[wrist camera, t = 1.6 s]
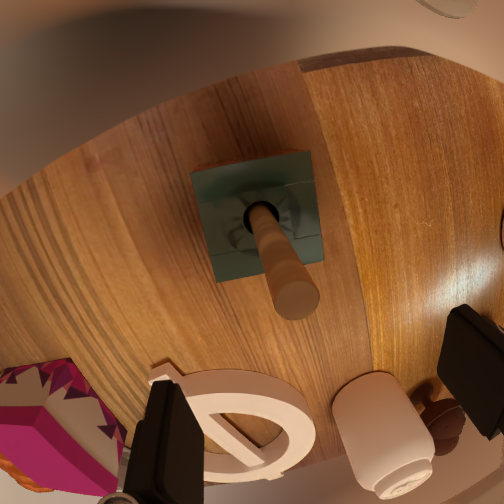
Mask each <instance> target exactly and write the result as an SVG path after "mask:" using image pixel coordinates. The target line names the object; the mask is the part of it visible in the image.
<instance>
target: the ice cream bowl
mask: <svg viewBox="0 0 504 504" xmlns="http://www.w3.org/2000/svg"><path fill="white" fill-rule="evenodd" d="M432 393H433V385H431V384H426V385H422V386H421V387H420V388H418V389H417V390H415V392H414V393H413V394H412V395H411V397H410V401H411V403H413V404H415V405H417V404H420V403H423V405H424V406H425V410H424V411H423V412H422V413H421V415H420V418H421V419H422V421H423V423H424V424H425V426H426V428H427V429H428V431H429V433H430V434H431V436H432V438H433V441H434V447H435V453H434V455H436V456H442V455H445V454H448V453H450V452H451V451H452V450H453V449H454V448H455V447H456V445H457V443H458V440H459V435H460V434H461V432H462V429H463V426H464V424H465V421H466V418H465V416H464V415H465V411H464V410H463V408H462V407H461V406H460V404H459V403H458V402H457V400H454V399H452V398H449V399H442V400H439V401H436V402H432V401H431V399H430V398H429V397H430V396H431V394H432Z"/></svg>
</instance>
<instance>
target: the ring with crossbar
mask: <svg viewBox="0 0 504 504" xmlns="http://www.w3.org/2000/svg"><path fill="white" fill-rule="evenodd" d="M168 379H171V380H172V381H173V383H178V384H179V385H180V387H181V389H182V391H183V393H184V395H185V397H186V400H187V402H188V404H189V406H190V408H191V409H192V411H193V413H194V415H195V417H196V419H197V421H198V423H199V425H200V427H201V429H202V431H203V433H205V434H206V435H207V436H208V437H210V438H211V439H212V440H213V441H215V442H216V443H217V444H218V445H220V446H221V447H222V448H224V449H225V450H226V451H228V452H229V453H230V454H217V453H210V452H206V451H204V481H211V482H224V483H233V482H246V481H253V480H258V479H262V478H266V479H268V480H273V479H276V478H279V477H282V476H284V473H283V471H285V470H287V469H288V468H290V467H292V466H293V465H295V464H296V463H298V462H299V461H300V460H302V459H303V458H304V457H305V456H306V455H307V453H308V452H309V451H310V449H311V448H312V446H313V444H314V441H315V428H314V424H313V421H312V418H311V414H310V411H309V407H308V405H307V402H306V400H305V399H304V397H303V396H302V395H301V393H300V392H299V391H298V390H296V389H295V388H294V387H293V386H291V385H290V384H288V383H286V382H284V381H282V380H280V379H278V378H275V377H272V376H270V375H266V374H262V373H258V372H253V371H246V370H234V369H221V370H208V371H201V372H196V373H192V374H188V375H185V376H181V375H180V373H179V372H178V371H177V370H176V369H175V368H174V367H173V366H172V365H171V364H170V363H169V362H167V363H165V364H163V365H160V366H158V367H156V368H154V369H151V370H150V373H149V377H148V381H147V382H148V383H149V384H150V385H151V386H152V384H153V382H154V381H159V380H168ZM219 413H242V414H250V415H255V416H259V417H263V418H266V419H268V420H271V421H273V422H275V423H277V424H278V425H280V426H281V427H282V428H283V430H282V432H281V433H280V435H279V436H278V437H277V438H276V439H275V440H273V441H272V442H271V443H269V444H268V445H266V446H264V447H262V448H257V447H256V446H255V445H254V444H252V443H251V442H250V441H249V440H248V439H247V438H245V437H244V436H243V435H242V434H241V433H240V432H238V431H237V430H236V429H235V428H234V427H233V426H232V425H231V424H229V423H228V422H227V421H226V420H225V419H224V418H223V417H222V416H221V415H220V414H219Z"/></svg>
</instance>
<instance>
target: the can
mask: <svg viewBox="0 0 504 504" xmlns="http://www.w3.org/2000/svg"><path fill="white" fill-rule="evenodd" d="M332 414H333V416H334V419H335V422H336V425H337V427H338V430H339V433H340V436H341V438H342V441H343V444H344V447H345V450H346V452H347V455H348V458H349V460H350V464H351V466H352V469H353V472H354V475H355V478H356V480H357V481H358V482H359V484H360V485H361V486H362V487H363V488H364V489H367V490H370V491H375V493H376V495H377V496H378V497H379V498H380V499H391V498H395V497H398V496H401V495H403V494H405V493H407V492H409V491H411V490H413V489H415V488H416V487H418V486H419V485H421V484H422V483H423V482H425V480H427V478H429V477H430V476H431V474H432V464H431V460H432V458H433V456H434V453H435V447H434V441H433V438H432V436H431V434H430V433H429V431H428V429H427V428H426V426H425V424H424V423H423V421H422V419H421V418H420V416H419V414H418V413H417V411H416V409H415V408H414V406H413V405H412V403H411V401H410V400H409V398H408V396H407V395H406V393H405V392H404V390H403V388H402V387H401V385H400V384H399V382H398V380H397V379H396V378H395V377H394V376H392V375H391V374H389V373H384V372H375V373H370V374H367V375H364V376H361V377H359V378H357V379H355V380H353V381H351V382H350V383H349V384H347V385H346V386H345V387H344V388H342V389H341V391H340V392H339V393H338V394H337V396H336V397H335V399H334V402H333V405H332Z"/></svg>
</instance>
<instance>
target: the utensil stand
mask: <svg viewBox="0 0 504 504" xmlns="http://www.w3.org/2000/svg"><path fill="white" fill-rule="evenodd" d="M190 176H191V180H192V185H193V189H194V193H195V198H196V202H197V207H198V211H199V215H200V219H201V224H202V228H203V232H204V236H205V240H206V244H207V248H208V252H209V256H210V260H211V264H212V268H213V272H214V276H215V280H216V283H218V282H223V281H229V280H234V279H239V278H244V277H249V276H254V275H259V274H263V273H264V269H263V266H262V262H261V259H260V255H259V252H258V248H257V245H256V241H255V238H254V234H253V231H252V227H251V224H250V220H249V217H248V214H247V213H246V212H245V211H246V209H247V208H248V206H249V205H251V204H252V203H254V202H258V201H266V202H267V206H268V208H269V209H270V211H271V212H272V214H273V216H274V217H275V219H276V220H277V222H278V224H279V225H280V227H281V229H282V230H283V232H284V233H285V235H286V237H287V238H288V240H289V242H290V243H291V245H292V247H293V248H294V250H295V251H296V253H297V255H298V256H299V258H300V260H301V261H302V263H303V265H307V264H311V263H316V262H321V261H324V254H323V244H322V235H321V227H320V219H319V211H318V203H317V195H316V188H315V182H314V174H313V167H312V160H311V154H310V151H309V150H301V149H292V148H289V149H282V150H276V151H270V152H265V153H259V154H253V155H248V156H243V157H238V158H232V159H228V160H223V161H218V162H213V163H209V164H204V165H200V166H198V167H197V168H196V169H194V170H193V171H192V172H191V173H190Z"/></svg>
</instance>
